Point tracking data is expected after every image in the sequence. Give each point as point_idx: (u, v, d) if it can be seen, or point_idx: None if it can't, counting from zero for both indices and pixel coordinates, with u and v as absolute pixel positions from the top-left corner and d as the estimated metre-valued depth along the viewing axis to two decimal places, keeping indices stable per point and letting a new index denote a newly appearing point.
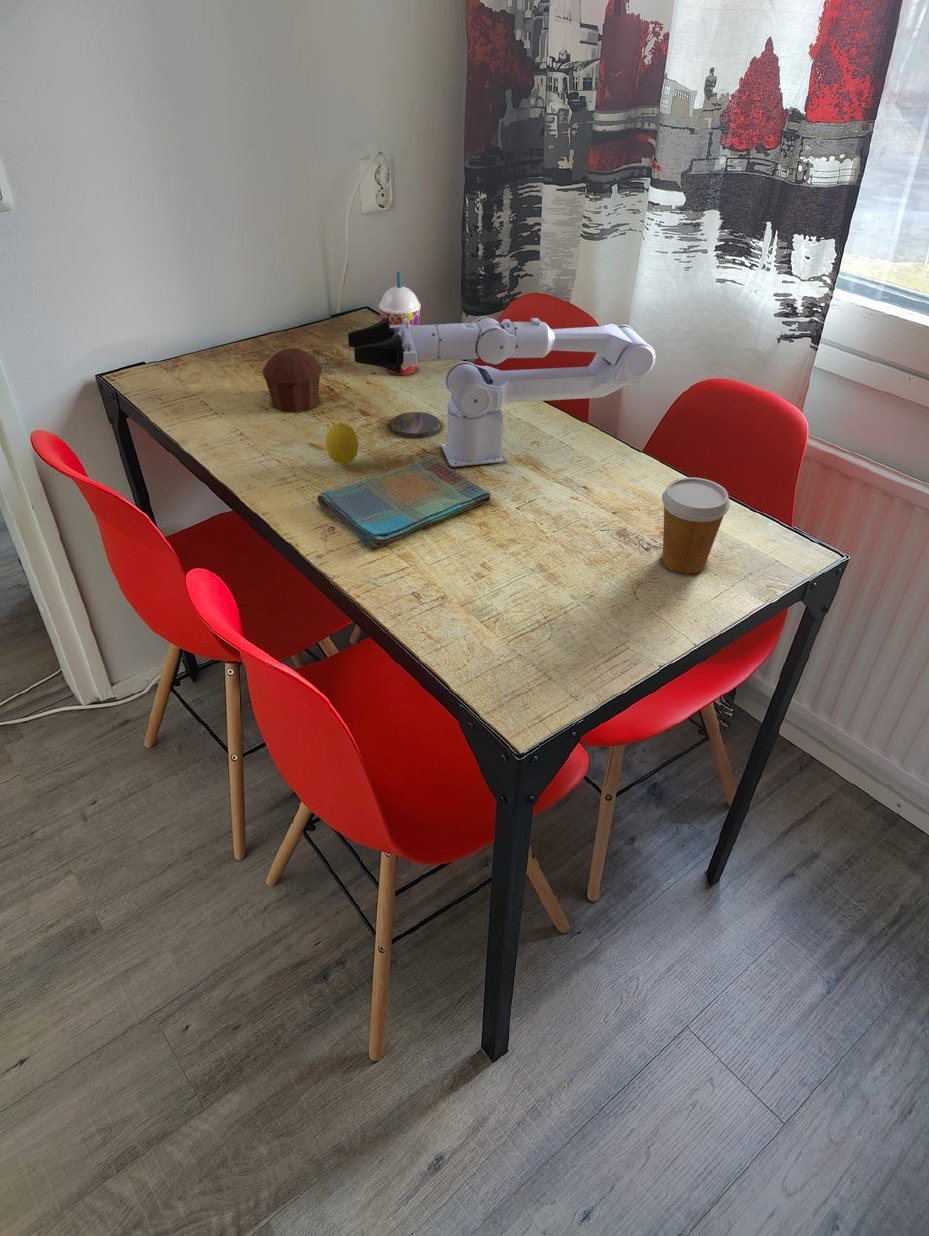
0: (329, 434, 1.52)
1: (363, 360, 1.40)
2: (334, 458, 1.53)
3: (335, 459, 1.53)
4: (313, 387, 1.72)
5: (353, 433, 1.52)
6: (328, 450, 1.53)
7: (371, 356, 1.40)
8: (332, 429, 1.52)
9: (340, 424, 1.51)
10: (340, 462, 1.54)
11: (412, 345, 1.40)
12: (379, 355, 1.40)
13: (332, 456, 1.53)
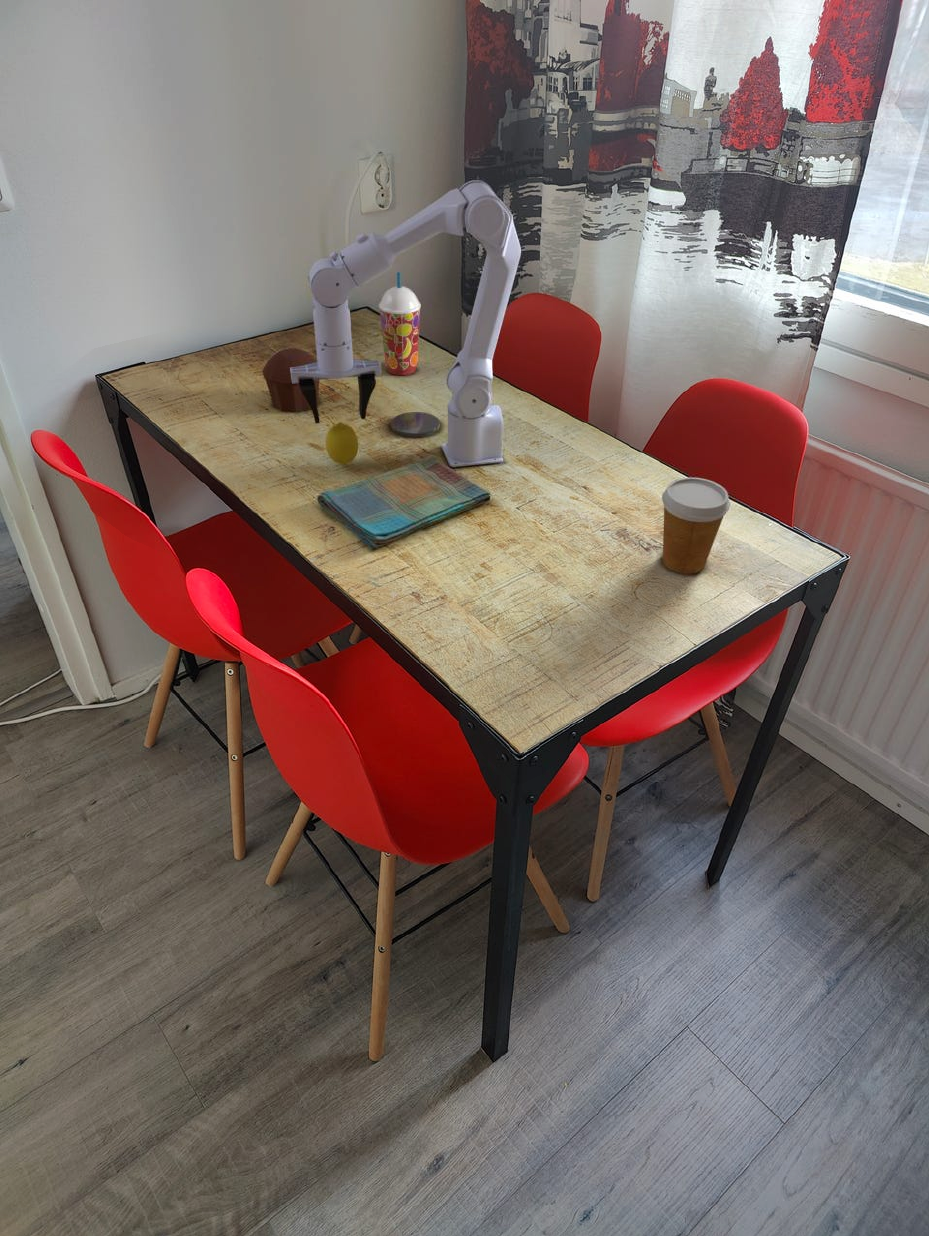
0: (329, 434, 1.52)
1: None
2: (334, 458, 1.53)
3: (335, 459, 1.53)
4: None
5: (353, 433, 1.52)
6: (328, 450, 1.53)
7: None
8: (332, 429, 1.52)
9: (340, 424, 1.51)
10: (340, 462, 1.54)
11: None
12: None
13: (332, 456, 1.53)
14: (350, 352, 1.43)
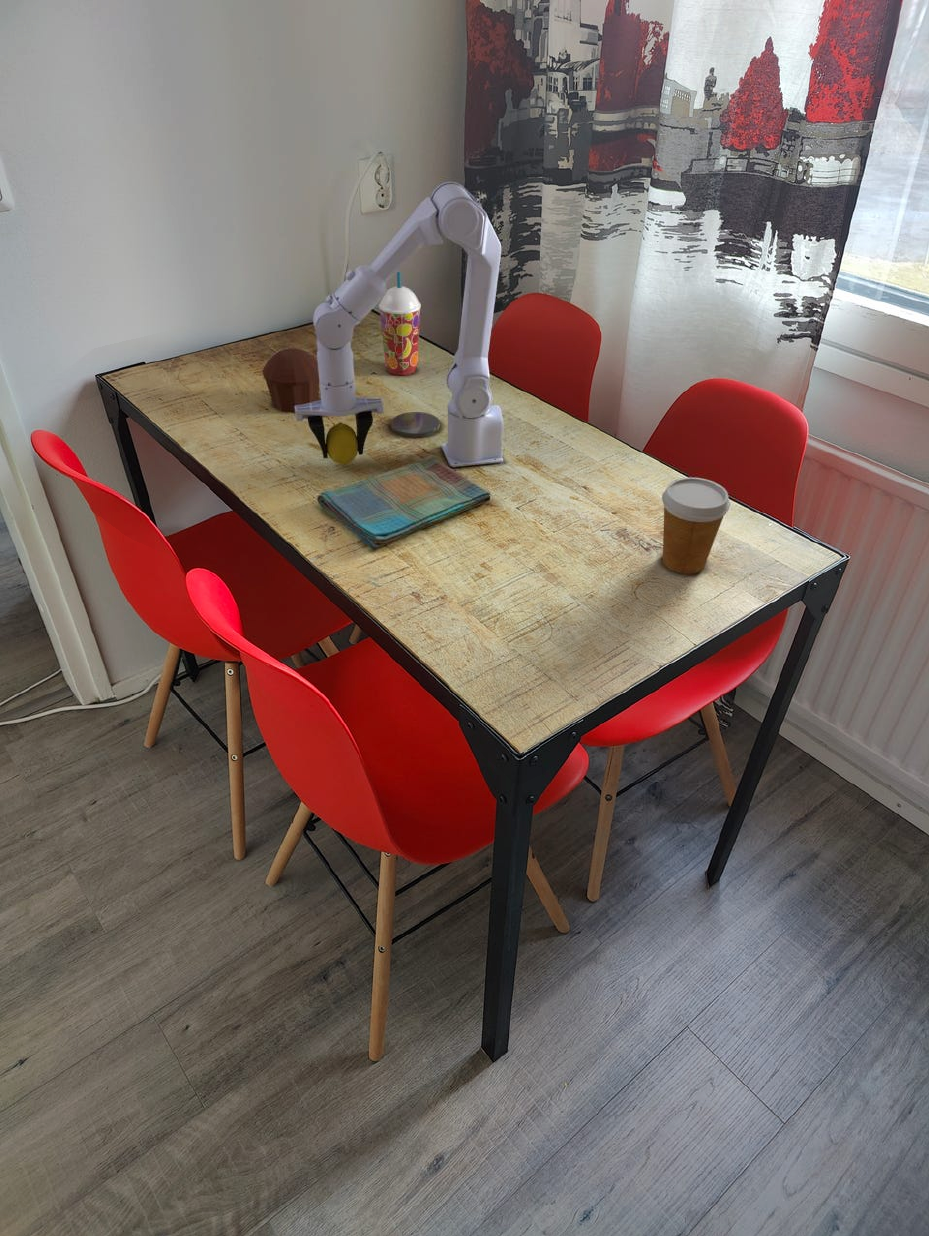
0: (329, 434, 1.52)
1: (322, 451, 1.53)
2: (334, 458, 1.53)
3: (335, 459, 1.53)
4: (313, 387, 1.72)
5: (353, 433, 1.52)
6: (328, 450, 1.53)
7: None
8: (332, 429, 1.52)
9: (340, 424, 1.51)
10: (340, 462, 1.54)
11: None
12: None
13: (332, 456, 1.53)
14: (353, 391, 1.47)
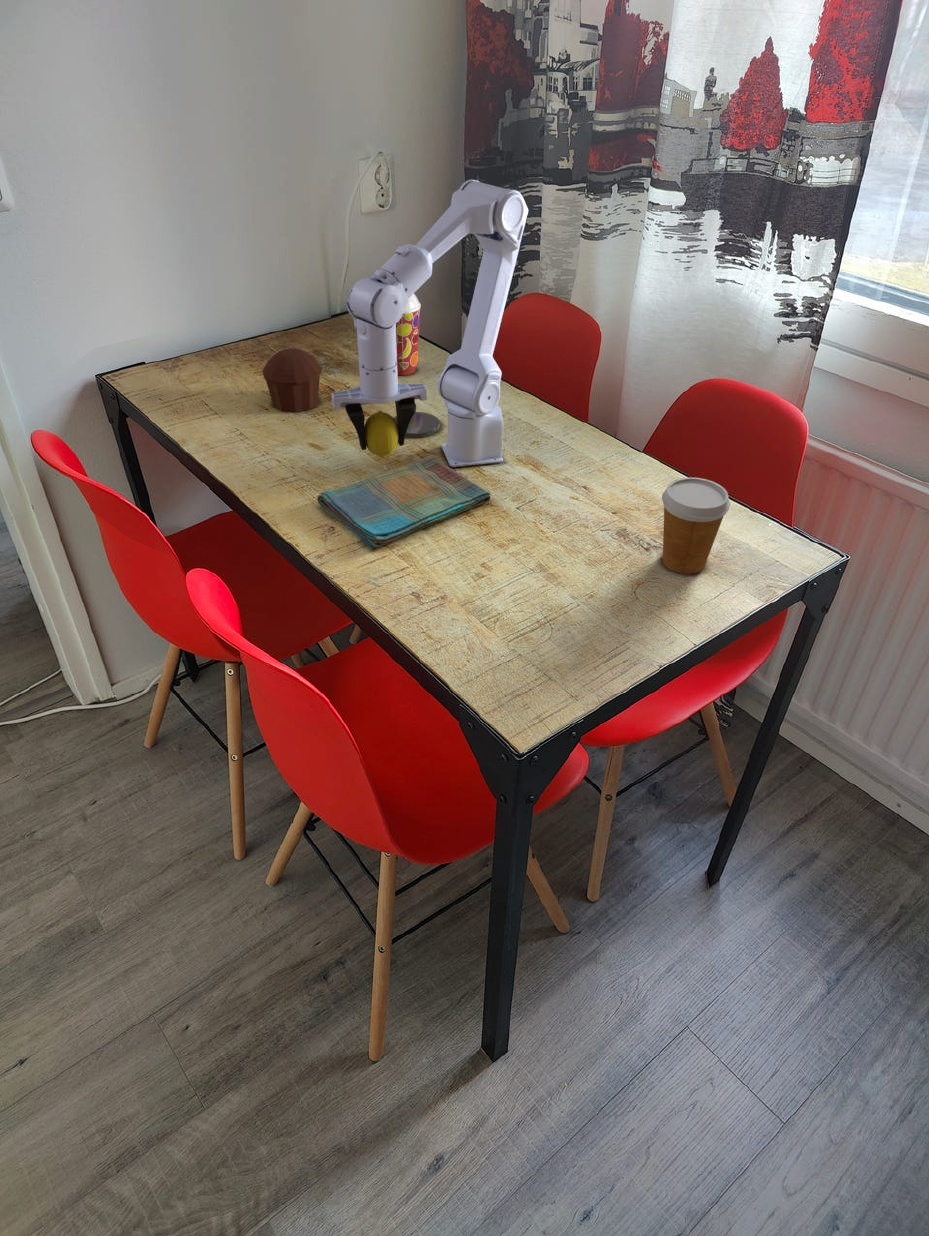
0: (368, 424, 1.40)
1: (360, 442, 1.41)
2: (373, 450, 1.41)
3: (374, 451, 1.41)
4: (313, 387, 1.72)
5: (394, 422, 1.40)
6: (367, 441, 1.41)
7: None
8: (371, 418, 1.40)
9: (380, 413, 1.39)
10: (380, 454, 1.42)
11: None
12: None
13: (371, 447, 1.41)
14: (396, 376, 1.35)
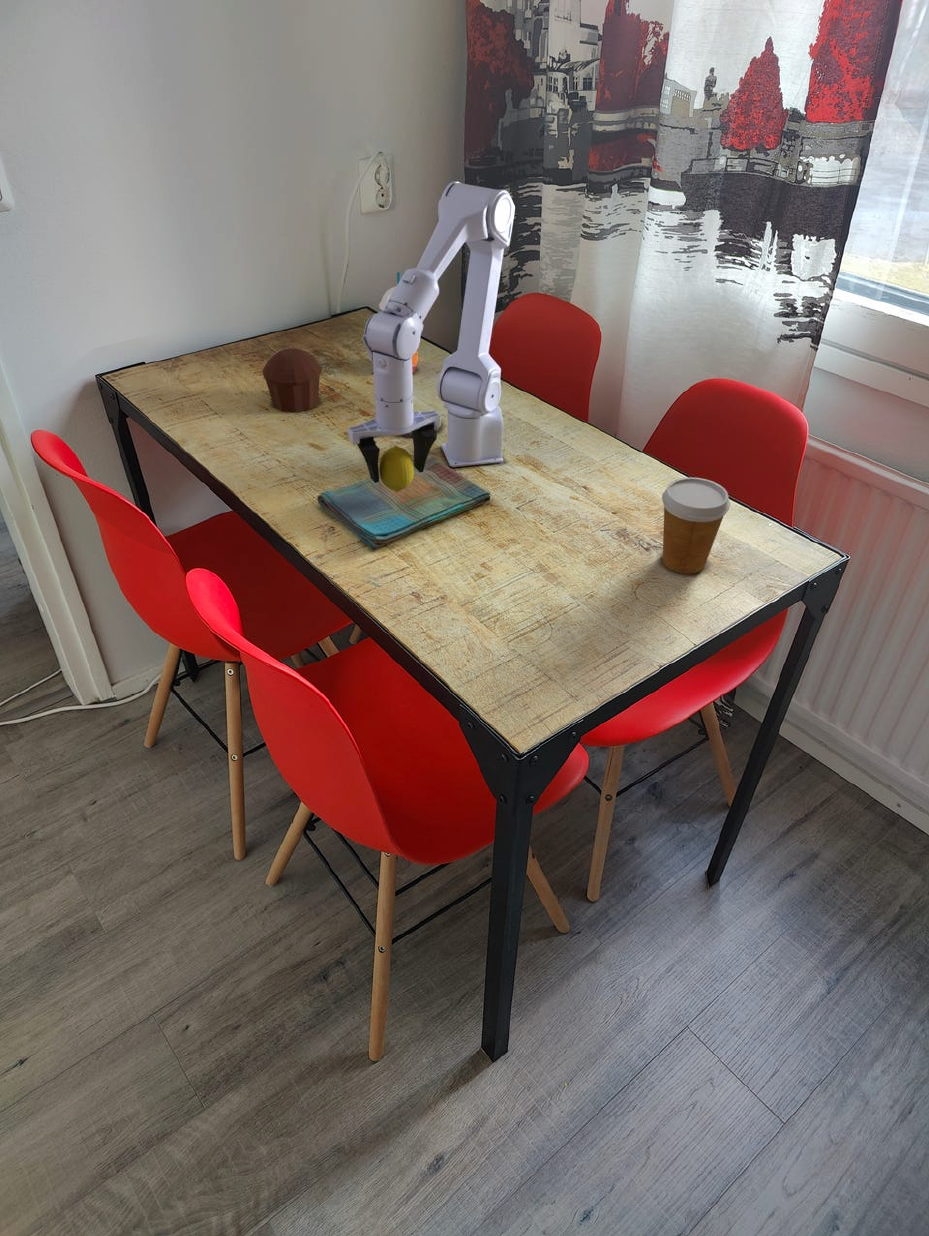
0: (385, 460, 1.40)
1: (373, 475, 1.40)
2: (392, 485, 1.41)
3: (393, 486, 1.42)
4: (313, 387, 1.72)
5: (410, 456, 1.41)
6: (384, 477, 1.41)
7: (371, 466, 1.40)
8: (388, 454, 1.40)
9: (396, 448, 1.40)
10: (397, 489, 1.42)
11: None
12: None
13: (390, 483, 1.41)
14: (412, 406, 1.35)
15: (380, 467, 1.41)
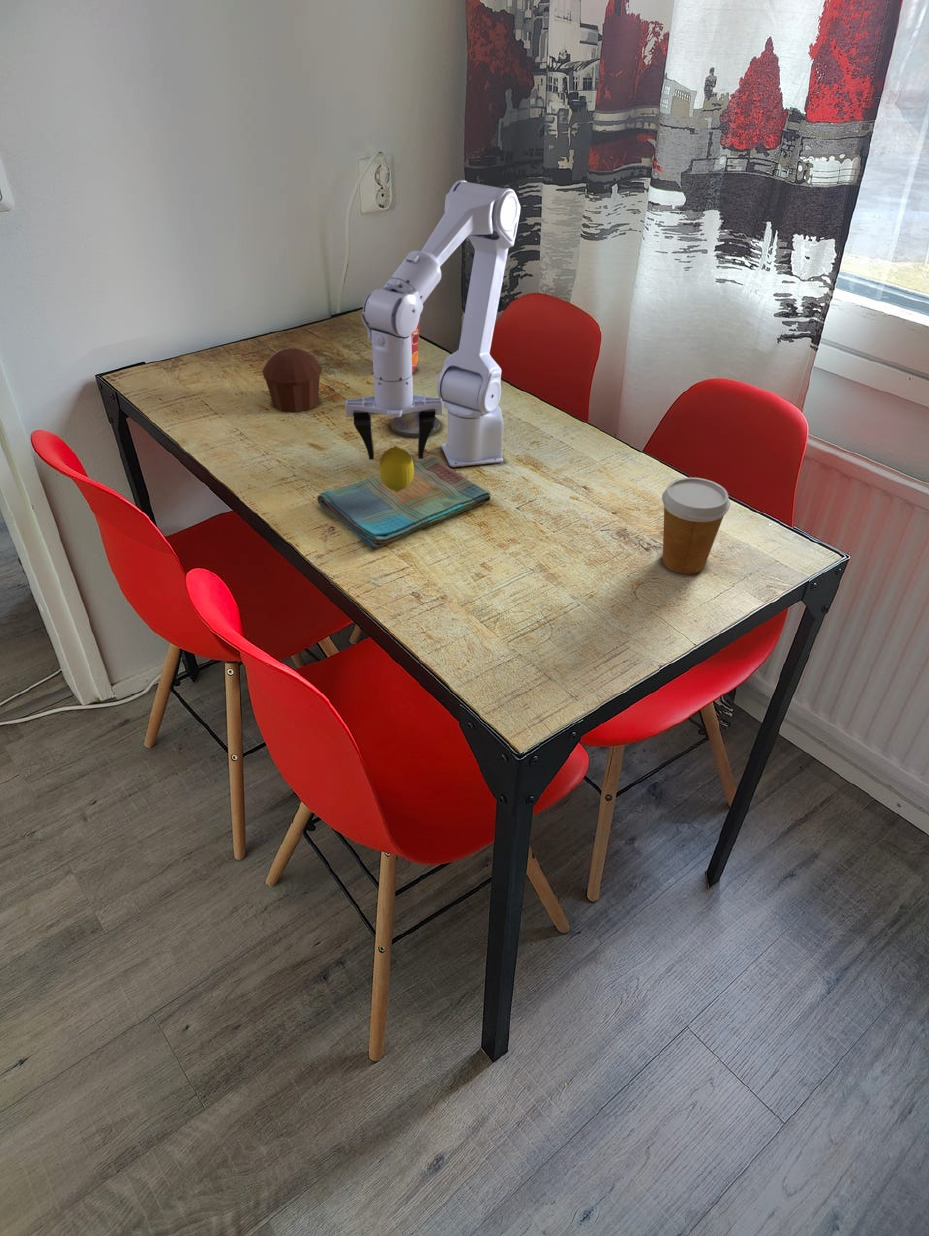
0: (385, 460, 1.40)
1: None
2: (392, 485, 1.41)
3: (393, 486, 1.42)
4: (313, 387, 1.72)
5: (410, 456, 1.41)
6: (384, 477, 1.41)
7: None
8: (388, 454, 1.40)
9: (396, 448, 1.40)
10: (397, 489, 1.42)
11: (427, 406, 1.35)
12: None
13: (390, 483, 1.41)
14: None
15: (380, 467, 1.41)
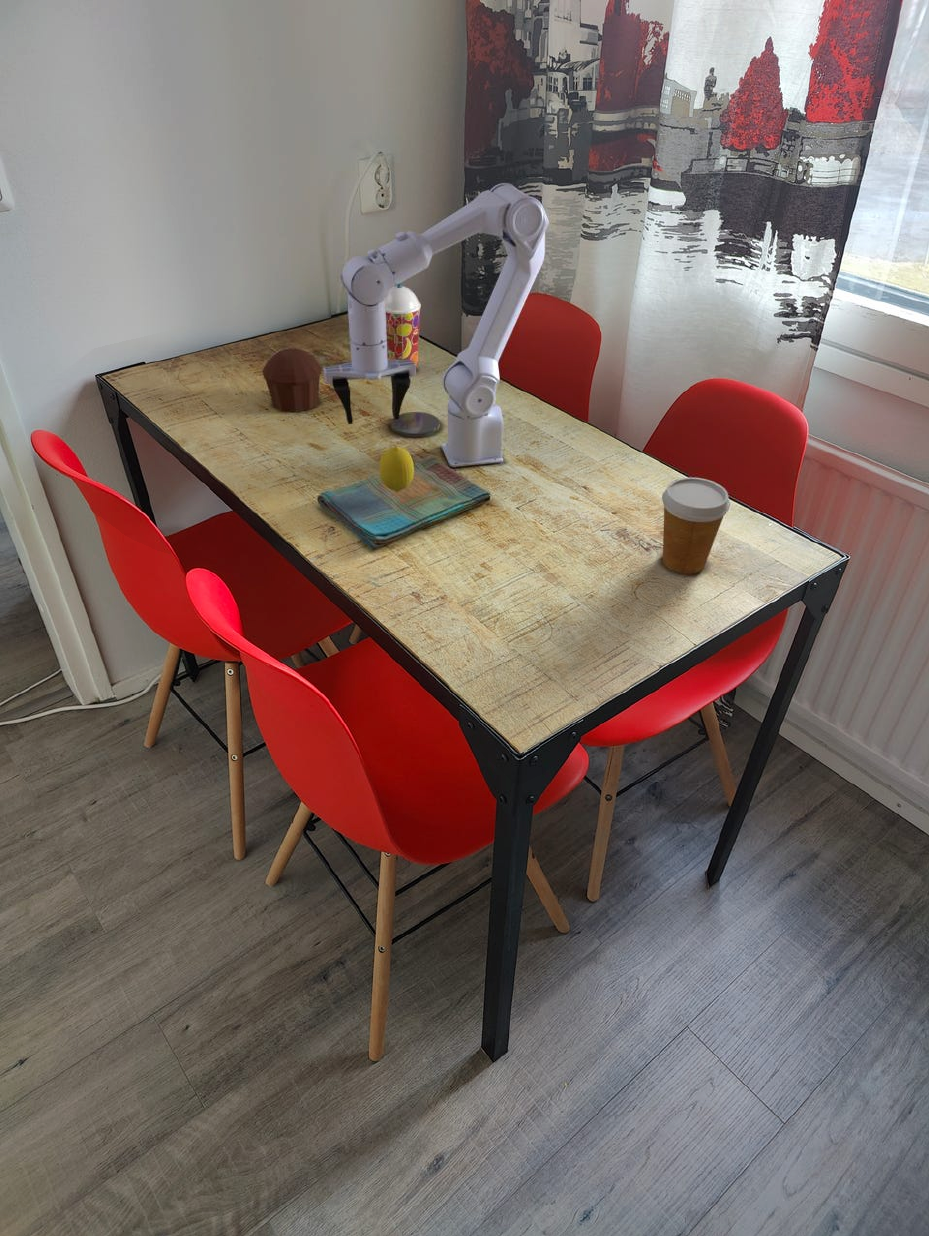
0: (385, 460, 1.40)
1: None
2: (392, 485, 1.41)
3: (393, 486, 1.42)
4: (313, 387, 1.72)
5: (410, 456, 1.41)
6: (384, 477, 1.41)
7: None
8: (388, 454, 1.40)
9: (396, 448, 1.40)
10: (397, 489, 1.42)
11: (402, 368, 1.43)
12: None
13: (390, 483, 1.41)
14: None
15: (380, 467, 1.41)
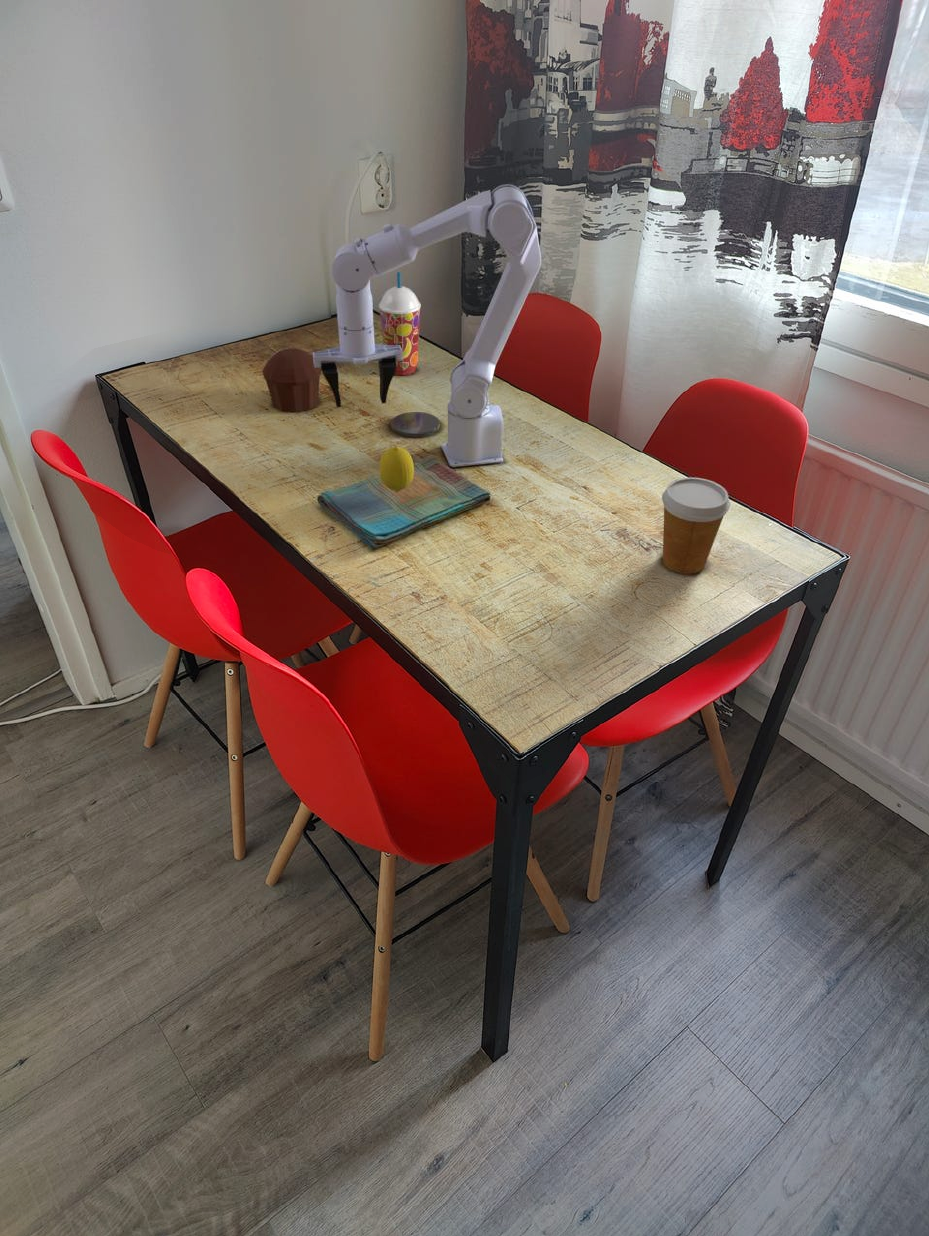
0: (385, 460, 1.40)
1: None
2: (392, 485, 1.41)
3: (393, 486, 1.42)
4: (313, 387, 1.72)
5: (410, 456, 1.41)
6: (384, 477, 1.41)
7: None
8: (388, 454, 1.40)
9: (396, 448, 1.40)
10: (397, 489, 1.42)
11: (389, 353, 1.48)
12: None
13: (390, 483, 1.41)
14: None
15: (380, 467, 1.41)
